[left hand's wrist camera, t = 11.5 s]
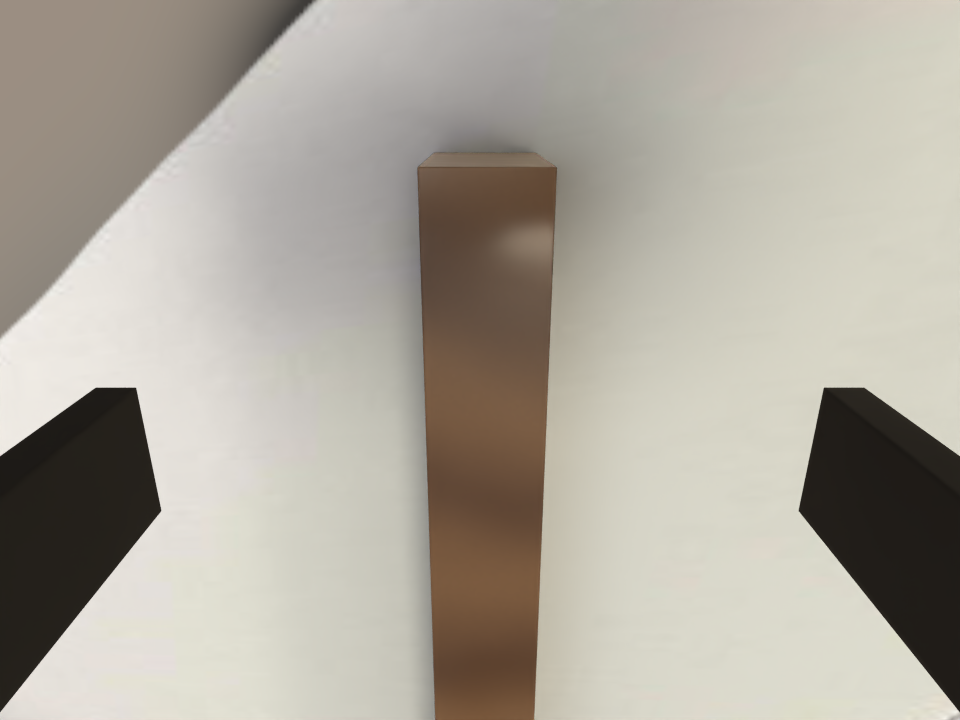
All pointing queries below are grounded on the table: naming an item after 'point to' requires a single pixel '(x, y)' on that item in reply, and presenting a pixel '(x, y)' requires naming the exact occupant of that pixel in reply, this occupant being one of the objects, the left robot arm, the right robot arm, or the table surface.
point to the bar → (486, 421)
